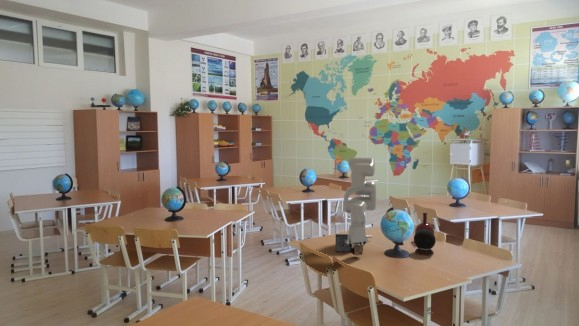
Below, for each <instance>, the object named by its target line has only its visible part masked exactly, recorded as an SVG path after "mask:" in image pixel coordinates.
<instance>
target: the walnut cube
mask: <svg viewBox="0 0 579 326" xmlns="http://www.w3.org/2000/svg"><path fill="white" fill-rule="evenodd" d="M352 255H353V256H354V257H355V256H361V255H362V256H363V253H362V246H360V243H357V244H354V254H352Z"/></svg>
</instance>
